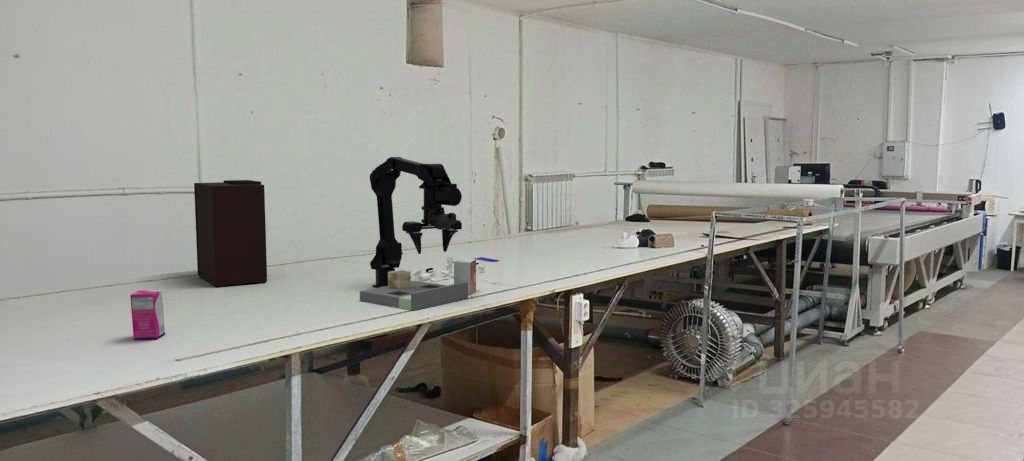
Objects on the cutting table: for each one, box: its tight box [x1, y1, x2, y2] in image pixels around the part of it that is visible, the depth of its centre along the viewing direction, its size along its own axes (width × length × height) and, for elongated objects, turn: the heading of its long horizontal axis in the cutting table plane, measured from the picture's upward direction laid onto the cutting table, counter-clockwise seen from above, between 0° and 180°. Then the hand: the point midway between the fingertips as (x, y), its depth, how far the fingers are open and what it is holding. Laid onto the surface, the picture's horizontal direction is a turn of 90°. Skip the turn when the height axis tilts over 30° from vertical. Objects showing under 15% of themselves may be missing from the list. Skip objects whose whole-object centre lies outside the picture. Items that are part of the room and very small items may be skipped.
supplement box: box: [129, 289, 166, 341], centre depth 190 cm, size 6×6×12 cm
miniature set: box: [411, 256, 486, 283], centre depth 283 cm, size 6×35×12 cm
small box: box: [453, 258, 477, 295], centre depth 251 cm, size 8×6×10 cm
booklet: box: [452, 256, 500, 264], centre depth 317 cm, size 12×25×1 cm, turn 130°
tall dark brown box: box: [193, 179, 268, 288], centre depth 272 cm, size 19×27×35 cm
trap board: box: [359, 280, 469, 311], centre depth 239 cm, size 23×24×5 cm
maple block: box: [388, 269, 412, 289], centre depth 242 cm, size 5×5×5 cm
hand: (432, 252), depth 244 cm, fingers open, 9 cm apart
